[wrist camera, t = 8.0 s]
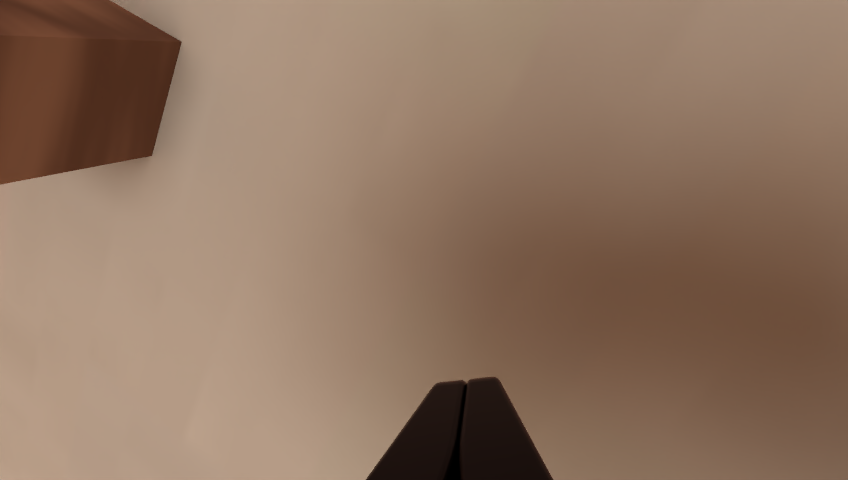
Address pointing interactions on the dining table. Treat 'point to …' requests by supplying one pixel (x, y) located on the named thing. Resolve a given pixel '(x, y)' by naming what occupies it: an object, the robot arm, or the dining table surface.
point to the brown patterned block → (78, 85)
